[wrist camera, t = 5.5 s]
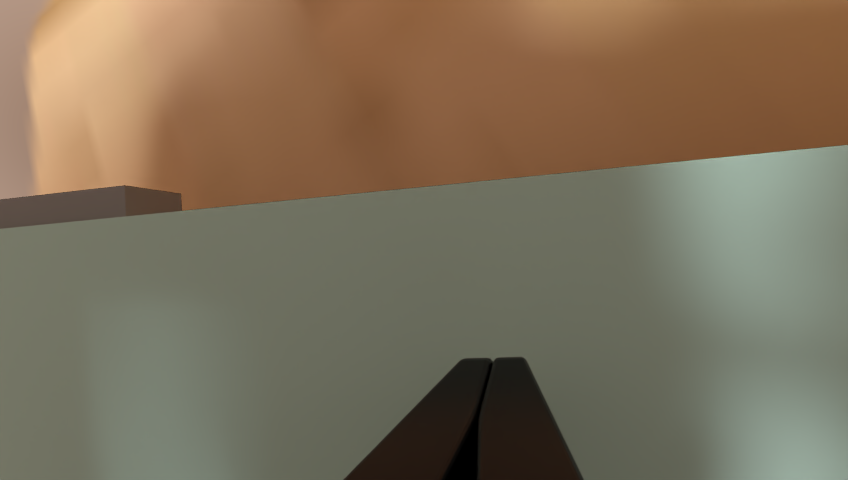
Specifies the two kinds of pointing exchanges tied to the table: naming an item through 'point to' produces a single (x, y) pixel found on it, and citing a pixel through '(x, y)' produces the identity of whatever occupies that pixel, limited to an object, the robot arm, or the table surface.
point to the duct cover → (433, 321)
